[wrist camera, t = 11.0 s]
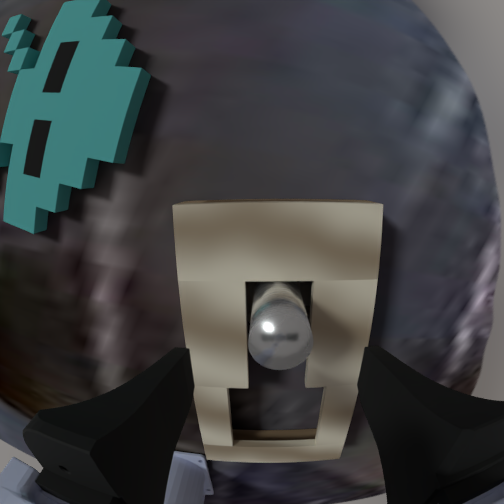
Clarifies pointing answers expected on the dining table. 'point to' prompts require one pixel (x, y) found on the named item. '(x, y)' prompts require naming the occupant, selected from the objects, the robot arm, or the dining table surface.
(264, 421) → the dining table surface
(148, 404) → the robot arm
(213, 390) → the keyhole plate
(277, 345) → the peg
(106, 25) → the alien figure
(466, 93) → the dining table surface
